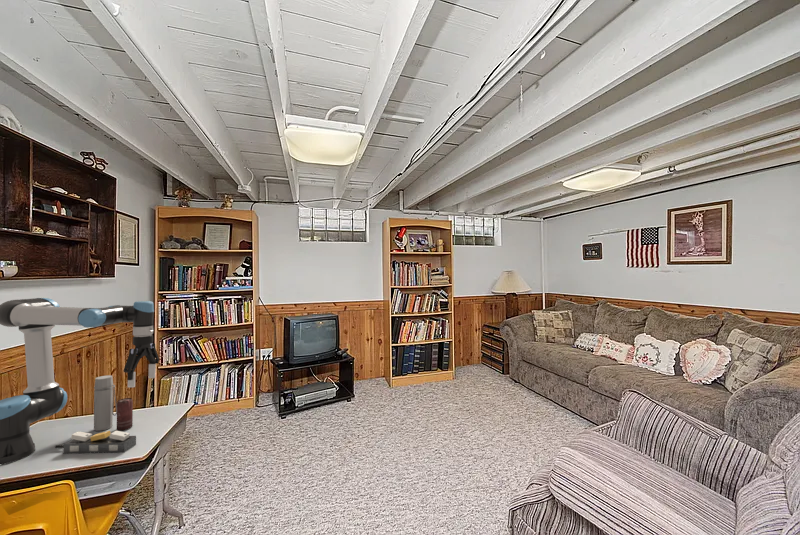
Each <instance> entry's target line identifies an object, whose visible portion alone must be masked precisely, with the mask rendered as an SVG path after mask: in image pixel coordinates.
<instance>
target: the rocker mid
mask: <svg viewBox="0 0 800 535" xmlns="http://www.w3.org/2000/svg"><path fill="white" fill-rule="evenodd" d="M111 433H112V432H111V430H108V431H103V432H102V431H101V432H99V433H96V434H94V435H93V434H92V437H90V439H91V441H95V440H99V439H104V438H106V437H108V436H110V434H111Z"/></svg>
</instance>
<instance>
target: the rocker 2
mask: <svg viewBox="0 0 800 535" xmlns="http://www.w3.org/2000/svg"><path fill="white" fill-rule="evenodd" d="M130 434H131V433H130V432H126V431H118V430H115V431H113V432H111V434H110V438H112V439H117V440H122V441H124V440H125V439H127V438H129V436H131V435H130Z"/></svg>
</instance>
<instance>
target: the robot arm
mask: <svg viewBox="0 0 800 535" xmlns="http://www.w3.org/2000/svg"><path fill="white" fill-rule="evenodd" d="M154 307H155V306H154V302H153V301H150V300H145V301H143V300H141V301H139V300H138V301H134V303H133V305H120V304H117V305H116V304H115V305H110V306H105V307H70V306H69V307H67V306H60V304H59V303H58V302H57V301H55V300H54V299H53V298H49V297H47V298H46V297H36V298H35V297H34V298H22V299H11V300H7V301H5V302H3V303H1V304H0V325H1V326H3V327H8V328H9V327H10V328H13V327H14V328H15V327H18V331H20V332H22V333H23V337H24V338H23V339H24V341H23V342H24V350H25V353H24V354H25V367H26V379H27V380H26V381H27V387H26V388H25V389H24V390H23V392H22V394H20V395H14V396H12V397H6V398H4V399H0V464H2V465H5V464H4V463H6V464H9V463H13V461H14V462H16V461H19V460H22V459H25V458H26V457H29V456H30V455H32V454H33V453H35V451H36V444H35V443H34V440H33V437H32V436H31V433H30V432H31V431H30V425H31V424H33V423H36V422H37V421H40V420H43V419H46V418H48V417H51V416H53V415H55V414H57V413H59V412H60V411H62V410H63V409H64V408H65V407H66V405H67V402H68V393H67V391H65V389H64V388H63V387H60V383H58V382H56V381H55V371H54V369H55V368H54V358H53V356H54V355H53V343H52V342H53V341H52V329H53V328H54V327H56V326H80V327H81V326H82V327H83V328H88V329H89V328H99V327H101V326H102V327H103V326H107V325H113V324H119V323H132V336H133V337H132V345H134V347H135V348H130V349H129V350H128V351H129V353H128V356H127V359H126V362H125V365H124V368H123V373H125V374H126V373H127V375H126V377H127V388H135V387H136V368H137V366H138V365H139V362H140V361H141V359H142V358H144V357H145V358H146V359H147V361H148V362H149V364H148V379H156V367H157V366H156V365H157V364H159V362H160V356H159V354H158V351H157V349H156V342H154V335H153V334H154V316H155V314H154V313H155V308H154Z"/></svg>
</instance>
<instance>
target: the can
mask: <svg viewBox="0 0 800 535" xmlns="http://www.w3.org/2000/svg"><path fill="white" fill-rule="evenodd" d="M116 404H117V414H116V431H121V432H125V431H127V430H130V429H132V428H133V418H134V417H133V416H134V415H133V413H134V412H133V407H134V406H133V404H134V403H133V398H132V397H125V398H122V399H118V400H117V401H116Z"/></svg>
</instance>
